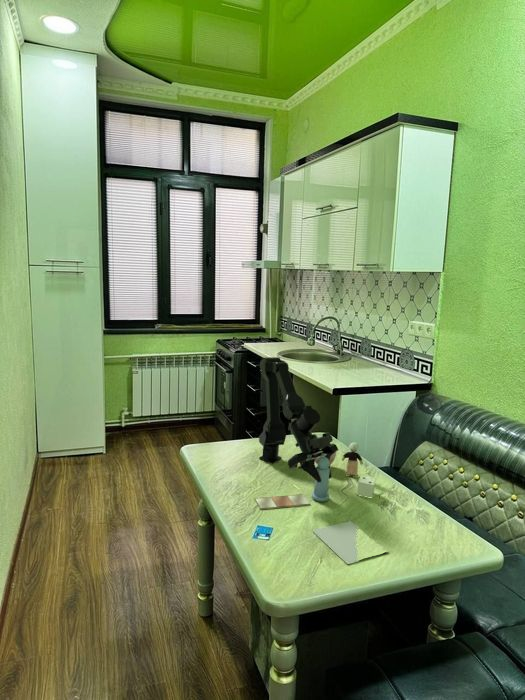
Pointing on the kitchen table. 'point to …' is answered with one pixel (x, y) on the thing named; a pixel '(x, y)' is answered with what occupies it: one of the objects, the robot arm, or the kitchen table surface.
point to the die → (366, 486)
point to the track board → (281, 502)
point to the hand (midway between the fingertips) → (325, 480)
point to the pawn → (322, 480)
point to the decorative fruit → (330, 458)
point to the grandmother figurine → (352, 460)
